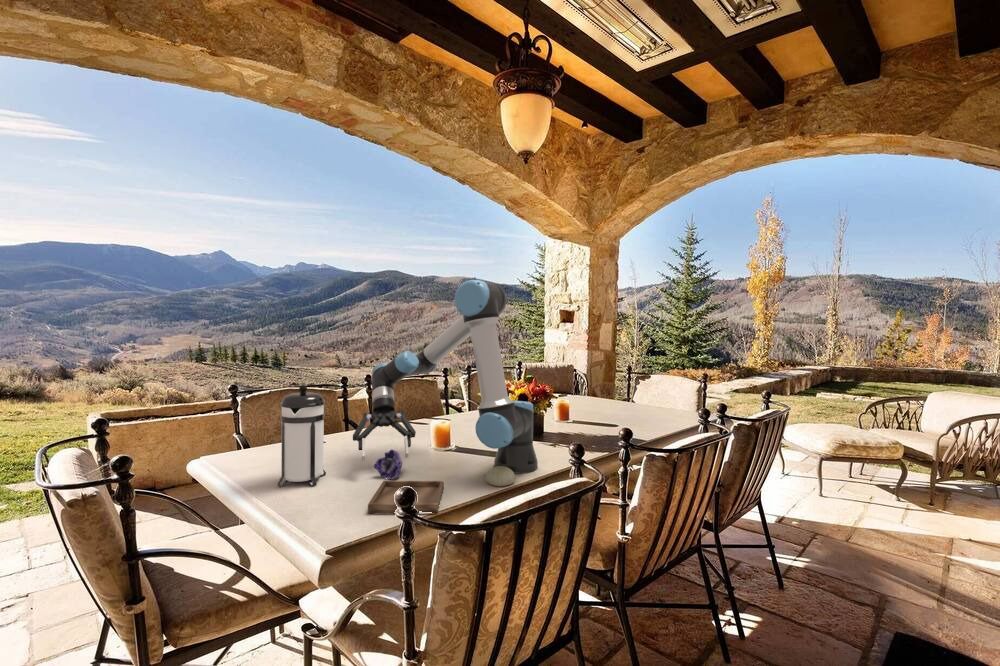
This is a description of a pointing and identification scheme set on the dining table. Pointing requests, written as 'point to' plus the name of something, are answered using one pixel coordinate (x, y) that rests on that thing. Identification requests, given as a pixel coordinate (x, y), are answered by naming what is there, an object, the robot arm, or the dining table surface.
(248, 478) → the dining table surface
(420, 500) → the walnut tray
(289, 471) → the coffee press
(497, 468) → the sea urchin shell
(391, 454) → the amethyst cluster
